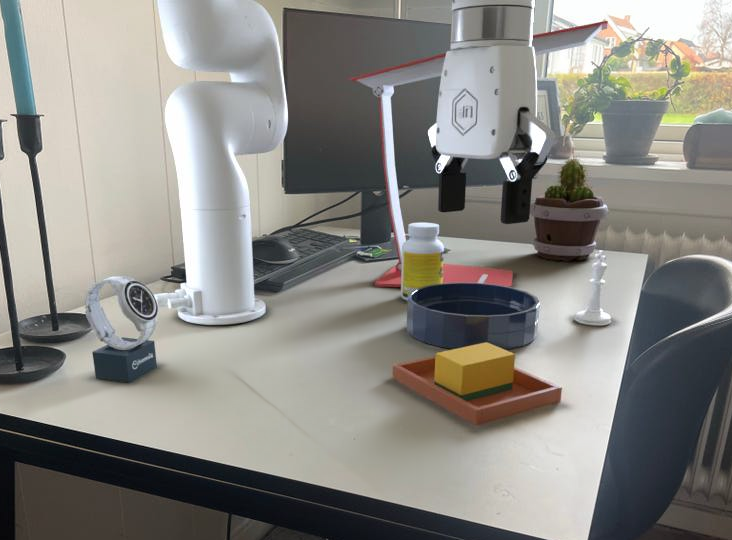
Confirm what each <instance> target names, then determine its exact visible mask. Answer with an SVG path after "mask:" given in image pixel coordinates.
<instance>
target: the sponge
mask: <svg viewBox="0 0 732 540" xmlns="http://www.w3.org/2000/svg"><path fill="white" fill-rule="evenodd" d="M434 356H435V379H434V381H435V382H434V384H435V385H437V386H439V387H441V388H442V389H444V390H446V391H448V392H450V393H452V394H454V395H456V396H457V397H459V398H461V399H463V400H465V401H469V400H473V399H477V398H480V397H484V396H488V395H492V394H496V393H500V392H504V391H507V390H511V389H512V386H513V375H514V367H515V364H516V363H515V362H516V353H514V352H511V351H509V350H508V349H506V350H504V349H502V348H499V347H497V346H495V345H492V344H490V343H487V342H486V343H481V344H476V345H471V346H467V347H462V348H457V349H448V350H443V351H439V352H435V355H434Z"/></svg>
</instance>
